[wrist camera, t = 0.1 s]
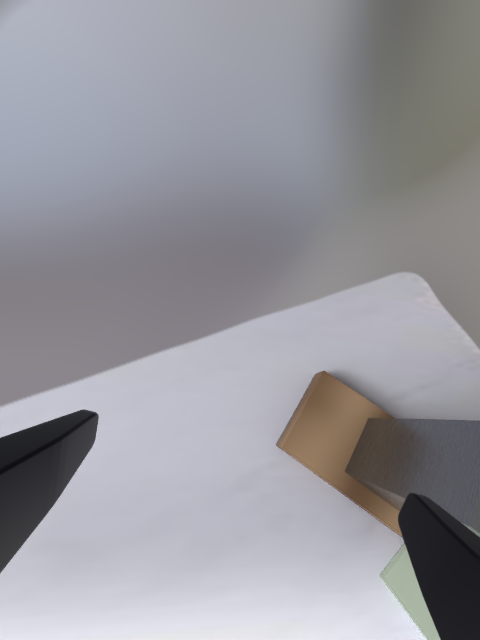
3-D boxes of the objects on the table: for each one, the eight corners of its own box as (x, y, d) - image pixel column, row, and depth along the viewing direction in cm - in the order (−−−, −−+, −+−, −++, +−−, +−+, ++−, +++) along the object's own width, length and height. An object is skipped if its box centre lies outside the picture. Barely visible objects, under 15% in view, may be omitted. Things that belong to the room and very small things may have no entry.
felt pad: (559, 595, 20) (566, 598, 19) (491, 726, 17) (498, 733, 16) (455, 476, 22) (459, 478, 21) (379, 575, 19) (383, 578, 18)
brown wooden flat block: (457, 470, 22) (479, 475, 20) (431, 558, 20) (454, 573, 18) (315, 374, 23) (324, 370, 22) (275, 445, 21) (281, 447, 19)
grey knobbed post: (419, 452, 20) (619, 490, 10) (398, 510, 19) (610, 620, 9) (368, 418, 21) (512, 421, 11) (344, 471, 19) (486, 533, 9)
